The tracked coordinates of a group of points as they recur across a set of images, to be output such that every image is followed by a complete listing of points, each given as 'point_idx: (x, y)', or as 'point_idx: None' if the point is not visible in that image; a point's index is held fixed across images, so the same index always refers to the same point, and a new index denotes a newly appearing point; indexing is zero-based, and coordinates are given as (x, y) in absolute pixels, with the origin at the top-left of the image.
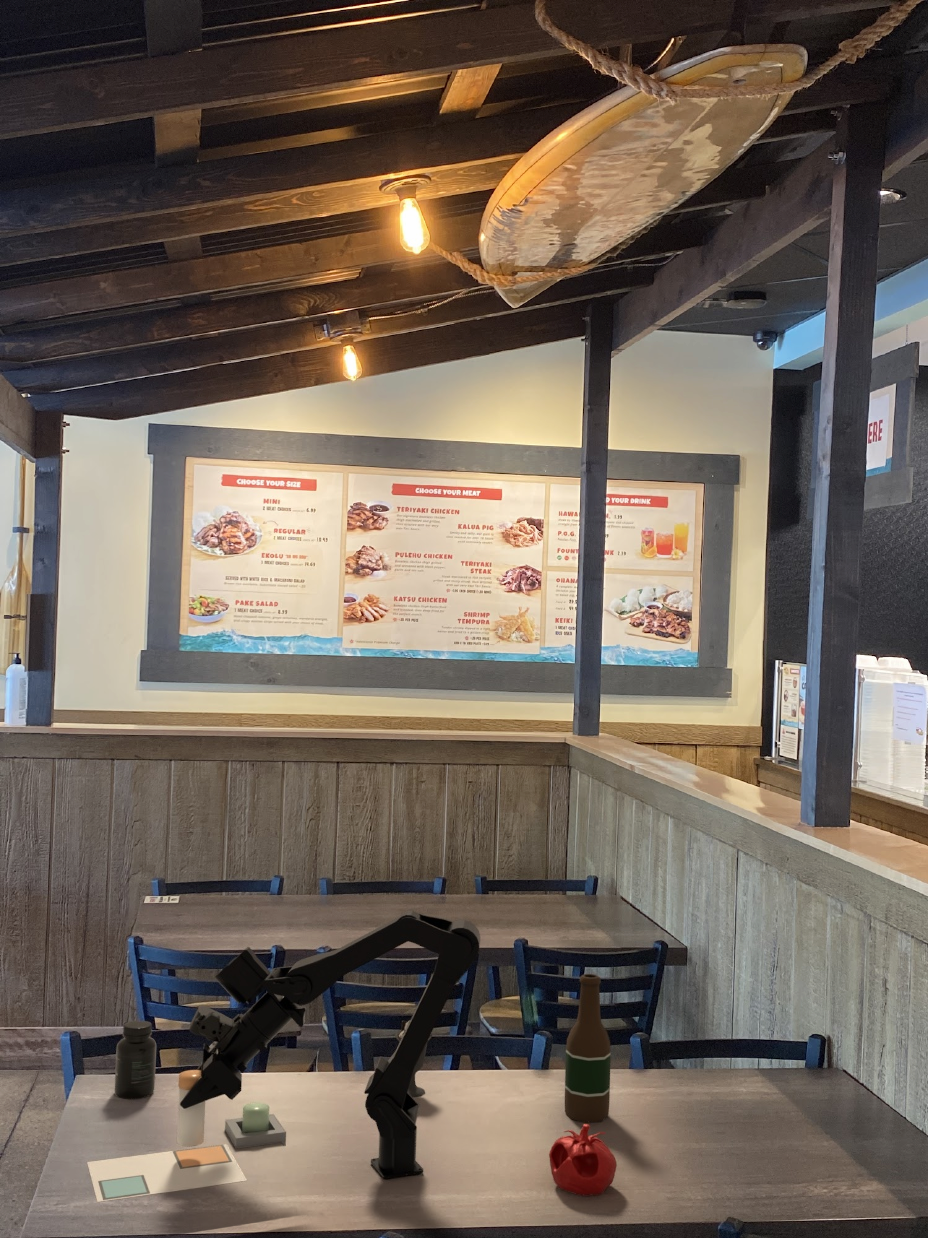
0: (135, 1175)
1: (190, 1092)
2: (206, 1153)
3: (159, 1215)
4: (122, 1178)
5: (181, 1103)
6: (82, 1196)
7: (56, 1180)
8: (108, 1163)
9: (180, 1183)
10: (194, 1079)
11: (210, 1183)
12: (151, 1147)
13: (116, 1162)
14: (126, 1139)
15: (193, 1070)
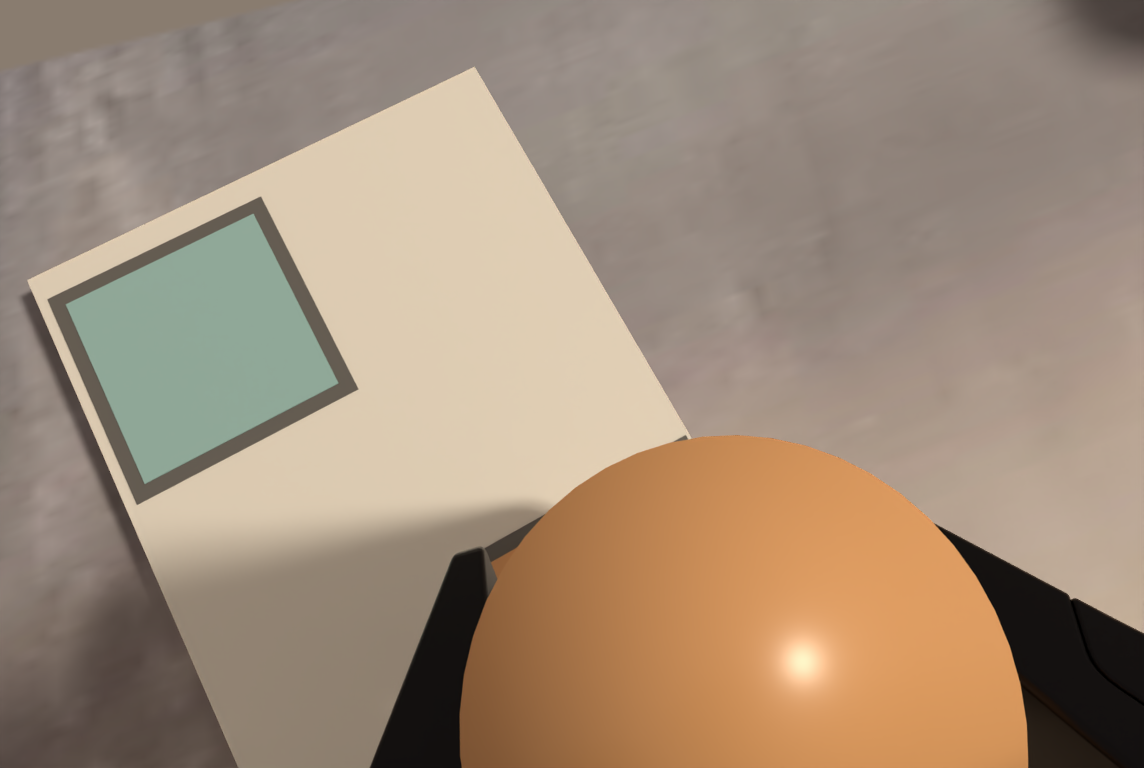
0: (348, 349)
1: (386, 746)
2: None
3: (2, 612)
4: (302, 299)
5: (450, 572)
6: (192, 176)
7: (347, 9)
8: (474, 167)
9: (271, 629)
10: None
11: None
12: (789, 286)
13: (490, 200)
14: (853, 135)
15: (984, 643)
